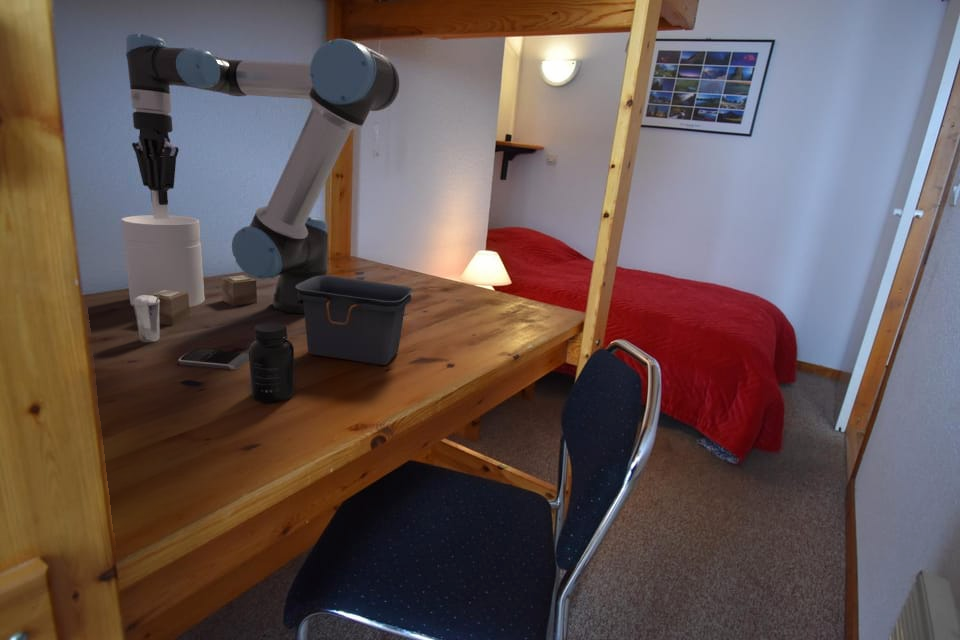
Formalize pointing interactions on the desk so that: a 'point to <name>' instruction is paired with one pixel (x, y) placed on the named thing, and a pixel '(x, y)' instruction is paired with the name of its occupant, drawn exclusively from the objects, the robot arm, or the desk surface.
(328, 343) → the storage bin
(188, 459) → the desk surface
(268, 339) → the supplement bottle
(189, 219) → the canister
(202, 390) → the desk surface
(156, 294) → the walnut block left
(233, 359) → the cell phone
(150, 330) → the milkshake
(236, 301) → the walnut block right
